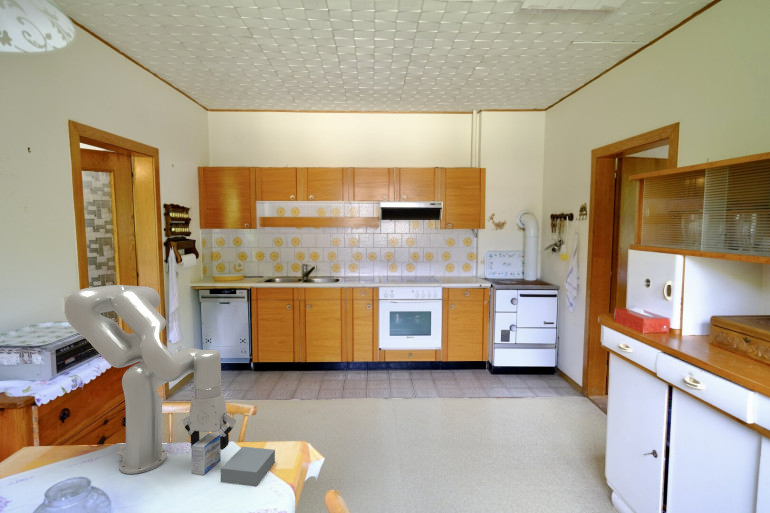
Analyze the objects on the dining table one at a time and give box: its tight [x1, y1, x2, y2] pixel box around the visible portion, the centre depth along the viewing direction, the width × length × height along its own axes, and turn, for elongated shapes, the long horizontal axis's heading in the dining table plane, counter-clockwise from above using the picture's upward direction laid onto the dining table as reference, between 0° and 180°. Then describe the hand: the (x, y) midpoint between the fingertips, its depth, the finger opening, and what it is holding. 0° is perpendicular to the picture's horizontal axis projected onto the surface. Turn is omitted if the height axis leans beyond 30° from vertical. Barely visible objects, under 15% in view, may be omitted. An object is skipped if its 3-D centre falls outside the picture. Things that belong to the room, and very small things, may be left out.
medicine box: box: [190, 432, 222, 476], centre depth 113 cm, size 8×4×9 cm, turn 168°
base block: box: [220, 446, 276, 487], centre depth 111 cm, size 11×12×4 cm
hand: (209, 446), depth 113 cm, fingers open, 9 cm apart
